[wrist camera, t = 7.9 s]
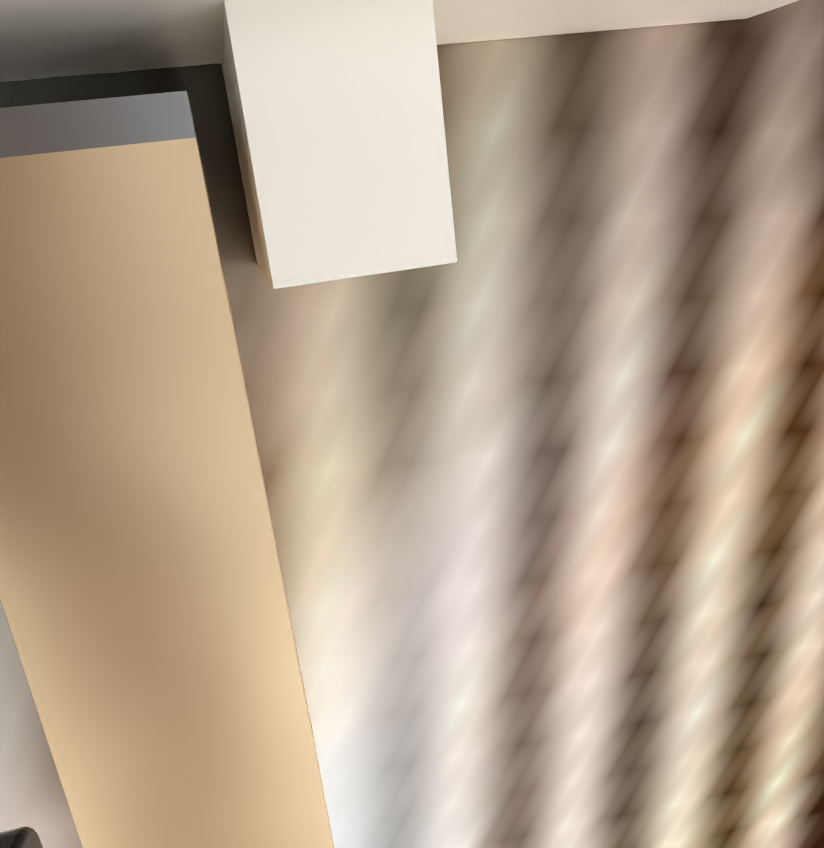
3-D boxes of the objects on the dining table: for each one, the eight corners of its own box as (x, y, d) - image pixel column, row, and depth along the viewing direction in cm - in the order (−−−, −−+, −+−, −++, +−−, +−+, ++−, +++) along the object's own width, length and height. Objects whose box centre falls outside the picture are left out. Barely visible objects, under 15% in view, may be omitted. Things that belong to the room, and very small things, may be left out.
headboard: (748, -60, 17) (1226, -295, 9) (742, 196, 19) (1138, 193, 11) (-319, 5, 13) (-1224, -328, 5) (-198, 327, 14) (-708, 482, 6)
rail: (195, 127, 15) (186, 90, 10) (314, 743, 20) (349, 928, 15) (-26, 149, 14) (-159, 122, 9) (154, 787, 19) (132, 998, 14)
